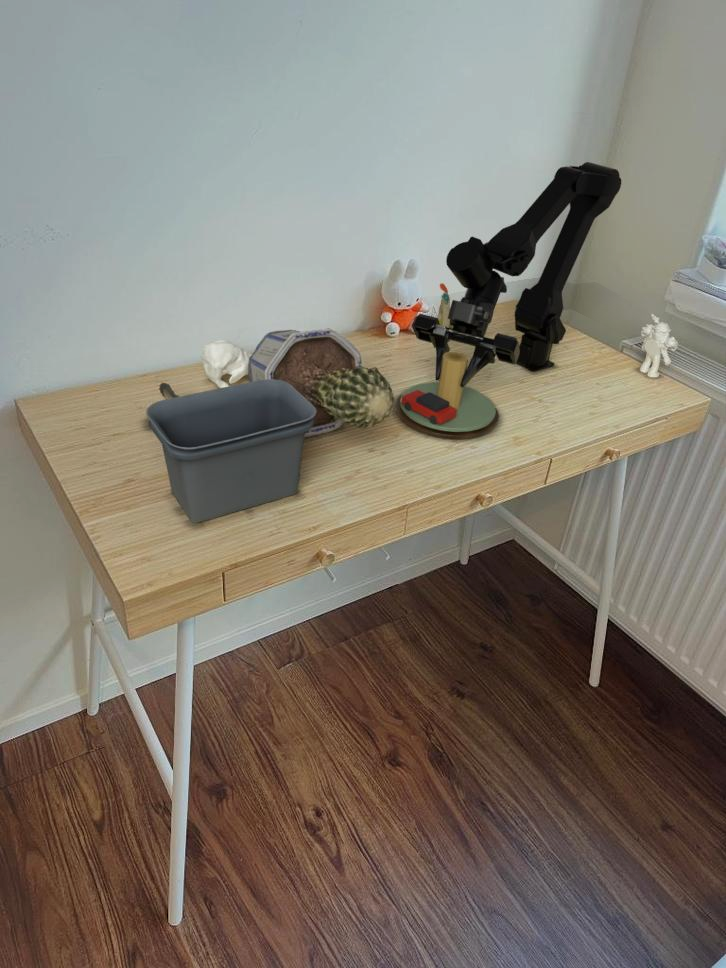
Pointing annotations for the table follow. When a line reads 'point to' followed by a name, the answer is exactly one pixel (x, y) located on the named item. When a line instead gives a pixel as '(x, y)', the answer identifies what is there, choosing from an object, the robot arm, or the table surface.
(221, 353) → the white crumpled lump
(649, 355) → the white character figurine
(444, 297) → the rattle
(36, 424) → the table surface
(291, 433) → the storage bin
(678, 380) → the table surface
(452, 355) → the turntable
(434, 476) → the table surface
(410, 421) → the display stand
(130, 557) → the table surface
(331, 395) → the potted plant
